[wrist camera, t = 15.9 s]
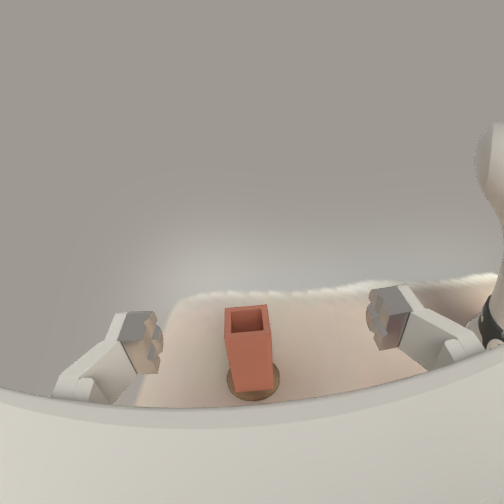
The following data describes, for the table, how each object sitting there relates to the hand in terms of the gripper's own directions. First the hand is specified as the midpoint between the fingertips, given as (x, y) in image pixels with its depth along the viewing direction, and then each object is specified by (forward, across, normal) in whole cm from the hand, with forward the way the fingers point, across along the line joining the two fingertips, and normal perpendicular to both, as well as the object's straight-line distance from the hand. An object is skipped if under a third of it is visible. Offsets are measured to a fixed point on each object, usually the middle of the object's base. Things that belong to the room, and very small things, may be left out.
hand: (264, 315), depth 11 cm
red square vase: (+20, +1, +31) cm, 37 cm away
